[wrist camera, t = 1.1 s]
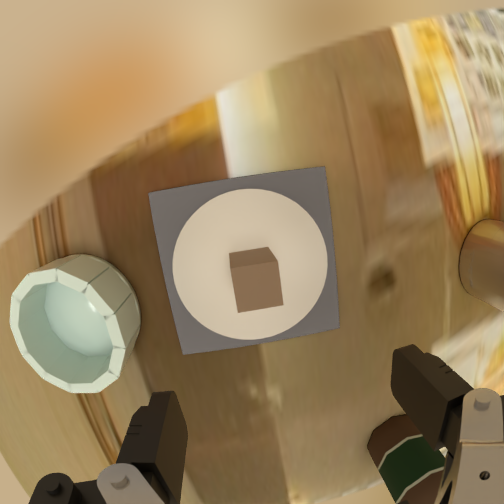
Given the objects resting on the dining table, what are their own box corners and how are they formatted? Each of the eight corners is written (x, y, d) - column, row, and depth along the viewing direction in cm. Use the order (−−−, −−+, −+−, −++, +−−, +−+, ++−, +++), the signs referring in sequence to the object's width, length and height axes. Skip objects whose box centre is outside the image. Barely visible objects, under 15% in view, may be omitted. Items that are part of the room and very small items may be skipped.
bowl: (125, 244, 27) (101, 260, 21) (154, 355, 29) (140, 391, 23) (30, 263, 26) (-5, 279, 20) (61, 362, 29) (37, 391, 23)
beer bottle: (363, 427, 33) (446, 581, 10) (418, 403, 33) (520, 532, 10) (367, 461, 35) (433, 594, 12) (416, 439, 35) (497, 556, 12)
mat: (323, 166, 27) (324, 166, 26) (338, 326, 30) (339, 327, 30) (149, 192, 26) (148, 192, 26) (183, 352, 29) (183, 354, 29)
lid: (315, 179, 27) (339, 178, 21) (329, 320, 29) (351, 350, 23) (161, 202, 26) (144, 207, 20) (191, 344, 29) (184, 379, 23)
